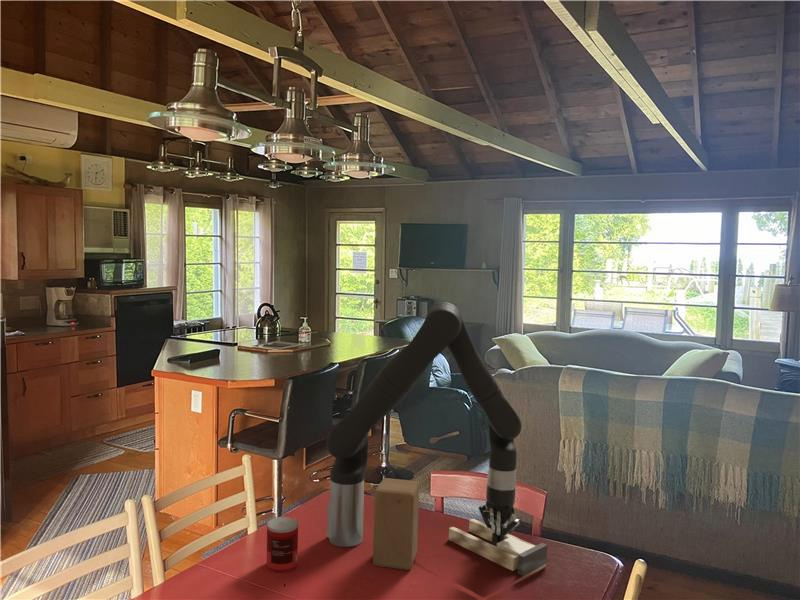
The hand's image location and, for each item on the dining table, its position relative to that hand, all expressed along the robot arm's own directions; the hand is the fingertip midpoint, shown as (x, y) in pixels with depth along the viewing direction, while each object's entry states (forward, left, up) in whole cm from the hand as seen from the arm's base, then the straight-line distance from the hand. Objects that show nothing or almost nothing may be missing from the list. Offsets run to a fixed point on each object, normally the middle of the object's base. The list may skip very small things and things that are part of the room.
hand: (497, 546), depth 169 cm
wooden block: (-15, -23, -2) cm, 28 cm away
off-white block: (+6, 0, -1) cm, 6 cm away
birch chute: (-2, 0, -2) cm, 3 cm away
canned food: (-31, -47, -2) cm, 56 cm away
